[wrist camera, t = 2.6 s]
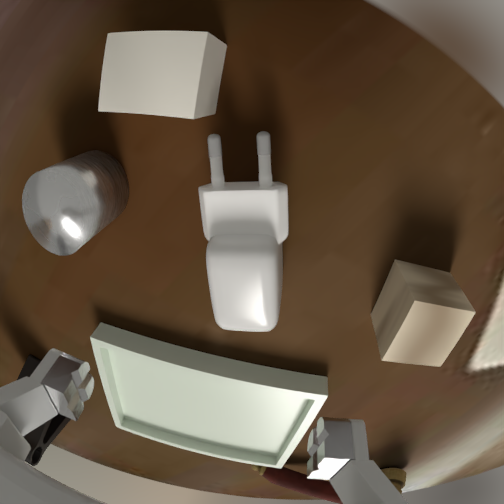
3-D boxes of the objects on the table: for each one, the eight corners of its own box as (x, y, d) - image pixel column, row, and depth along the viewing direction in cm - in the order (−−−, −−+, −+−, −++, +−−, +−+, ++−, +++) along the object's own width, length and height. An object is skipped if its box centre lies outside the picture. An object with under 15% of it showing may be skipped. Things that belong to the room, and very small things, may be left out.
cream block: (227, 45, 14) (207, 31, 11) (215, 113, 16) (193, 119, 13) (144, 42, 15) (107, 33, 11) (135, 105, 16) (97, 111, 13)
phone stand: (30, 353, 30) (-20, 421, 20) (68, 374, 31) (20, 450, 20) (44, 391, 35) (6, 452, 24) (77, 410, 35) (42, 476, 24)
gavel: (262, 442, 38) (232, 500, 29) (270, 427, 35) (238, 492, 27) (395, 482, 33) (383, 541, 24) (412, 470, 30) (402, 533, 22)
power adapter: (209, 128, 17) (175, 142, 12) (287, 125, 16) (284, 136, 11) (225, 282, 21) (205, 334, 17) (290, 283, 20) (286, 338, 16)
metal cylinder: (130, 153, 18) (83, 175, 13) (128, 227, 20) (89, 264, 16) (69, 147, 18) (18, 167, 14) (71, 214, 20) (28, 245, 16)
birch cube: (449, 272, 19) (475, 312, 15) (423, 323, 21) (440, 366, 17) (394, 258, 19) (414, 300, 15) (370, 313, 21) (381, 360, 17)
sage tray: (327, 376, 24) (328, 395, 22) (282, 454, 32) (280, 468, 30) (100, 322, 25) (90, 336, 23) (122, 414, 32) (116, 426, 31)
